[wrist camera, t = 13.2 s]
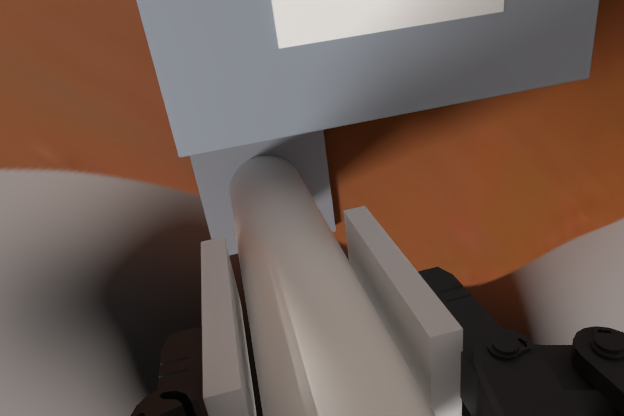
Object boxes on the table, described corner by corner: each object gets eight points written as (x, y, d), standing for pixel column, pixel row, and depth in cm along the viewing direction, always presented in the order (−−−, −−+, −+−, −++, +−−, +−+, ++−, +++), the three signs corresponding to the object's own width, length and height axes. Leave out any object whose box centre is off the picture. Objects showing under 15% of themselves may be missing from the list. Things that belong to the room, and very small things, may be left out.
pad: (216, 253, 23) (216, 258, 22) (185, 136, 20) (185, 139, 20) (333, 226, 24) (335, 231, 23) (318, 111, 21) (321, 113, 21)
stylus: (236, 231, 22) (335, 854, 6) (220, 162, 20) (295, 752, 4) (308, 215, 22) (575, 752, 6) (297, 147, 21) (613, 629, 5)
